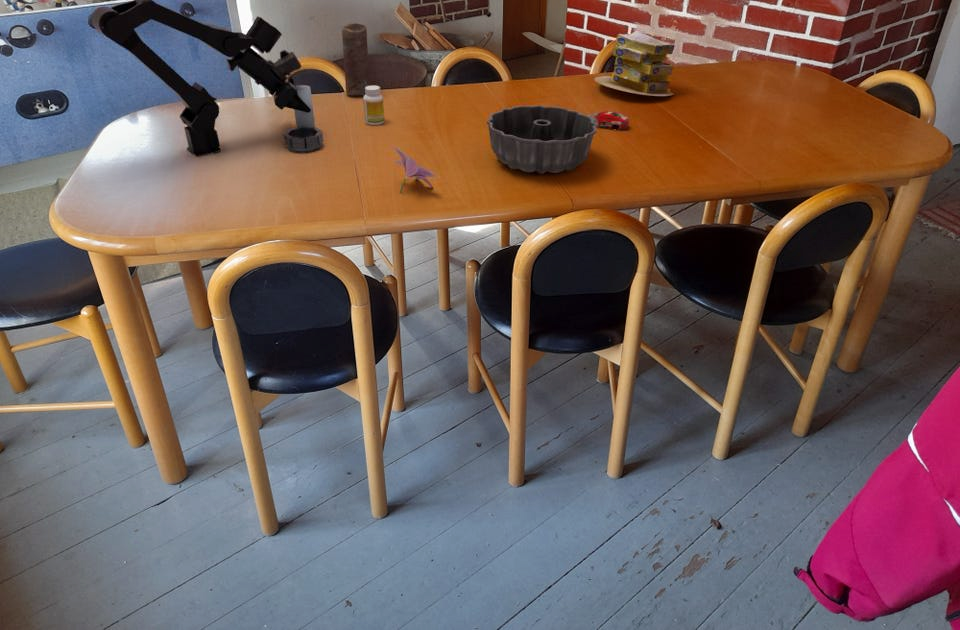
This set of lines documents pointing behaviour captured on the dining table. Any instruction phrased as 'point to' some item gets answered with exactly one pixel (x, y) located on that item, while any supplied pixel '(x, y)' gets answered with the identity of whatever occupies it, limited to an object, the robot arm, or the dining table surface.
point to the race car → (610, 120)
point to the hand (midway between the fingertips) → (308, 108)
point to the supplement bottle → (373, 106)
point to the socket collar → (303, 139)
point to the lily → (413, 168)
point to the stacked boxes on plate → (640, 65)
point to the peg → (302, 117)
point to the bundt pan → (541, 137)
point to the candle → (355, 59)
